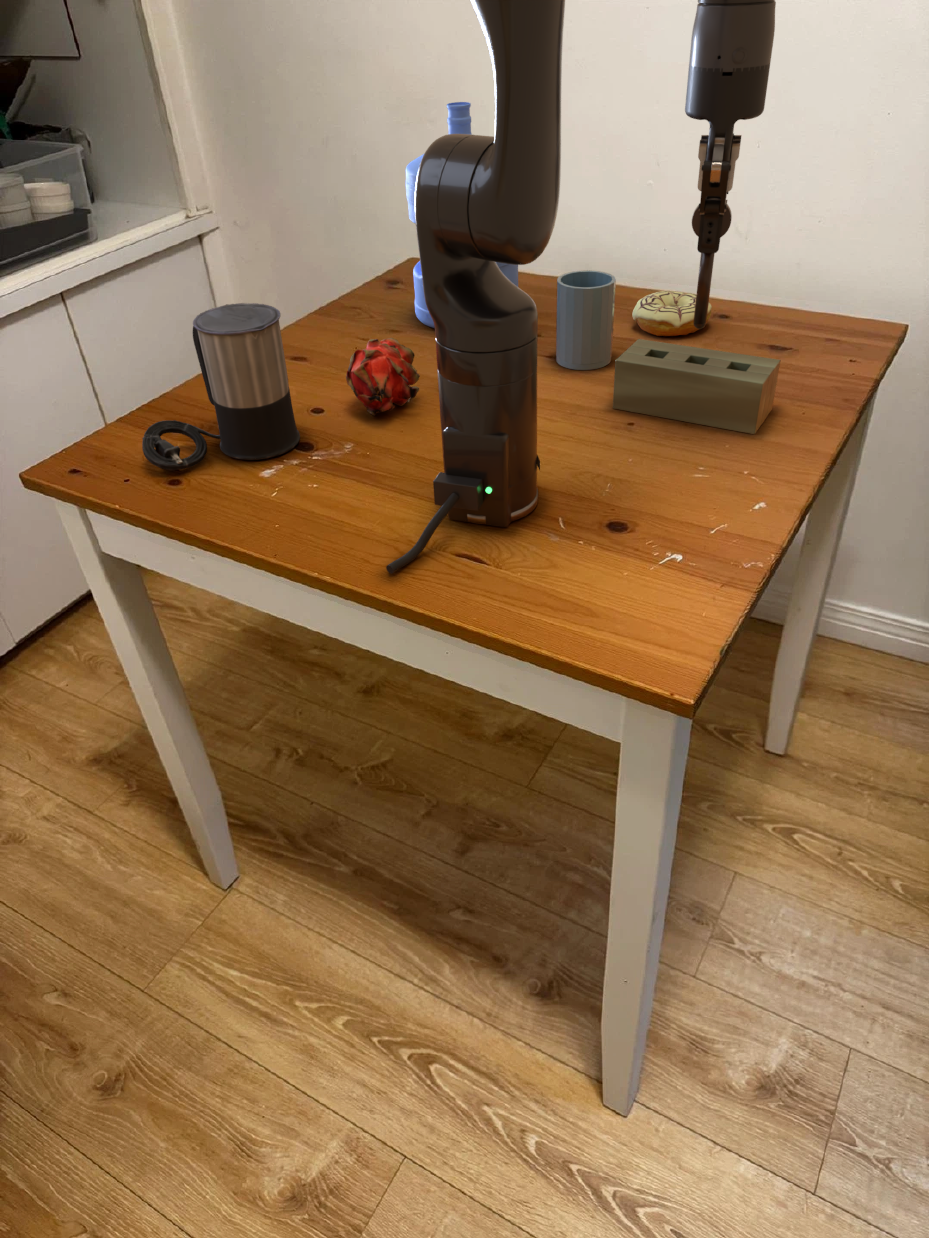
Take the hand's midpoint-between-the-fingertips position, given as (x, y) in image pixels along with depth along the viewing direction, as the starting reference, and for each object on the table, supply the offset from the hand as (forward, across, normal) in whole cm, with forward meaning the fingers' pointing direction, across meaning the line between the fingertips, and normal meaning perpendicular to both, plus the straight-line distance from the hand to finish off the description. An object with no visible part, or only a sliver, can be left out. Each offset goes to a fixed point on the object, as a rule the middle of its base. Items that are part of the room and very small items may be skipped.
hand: (708, 249), depth 97 cm
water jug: (+18, -28, -35) cm, 48 cm away
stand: (+18, 0, 0) cm, 18 cm away
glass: (+18, -13, -15) cm, 27 cm away
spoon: (+9, 0, 0) cm, 9 cm away
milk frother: (+19, +20, -51) cm, 57 cm away
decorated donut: (+18, -28, -4) cm, 33 cm away
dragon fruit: (+18, +5, -36) cm, 41 cm away
